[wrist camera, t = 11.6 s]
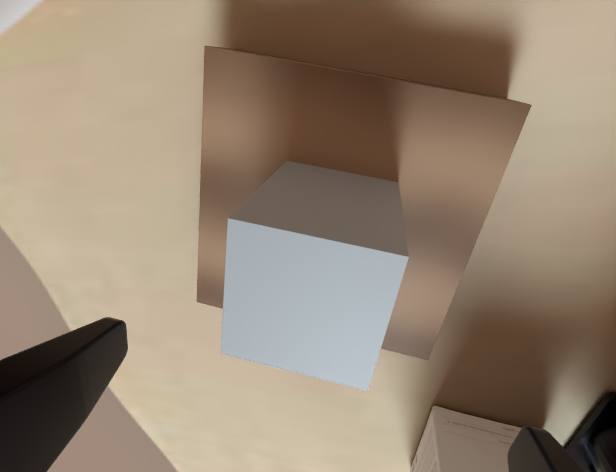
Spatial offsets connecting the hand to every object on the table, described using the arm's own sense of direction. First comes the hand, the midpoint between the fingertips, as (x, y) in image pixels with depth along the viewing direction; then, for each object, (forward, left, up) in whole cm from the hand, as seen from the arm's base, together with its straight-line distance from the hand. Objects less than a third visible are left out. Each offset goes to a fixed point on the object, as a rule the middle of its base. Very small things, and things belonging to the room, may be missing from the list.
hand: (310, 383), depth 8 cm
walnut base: (0, +1, -13) cm, 13 cm away
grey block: (0, +1, -10) cm, 10 cm away
